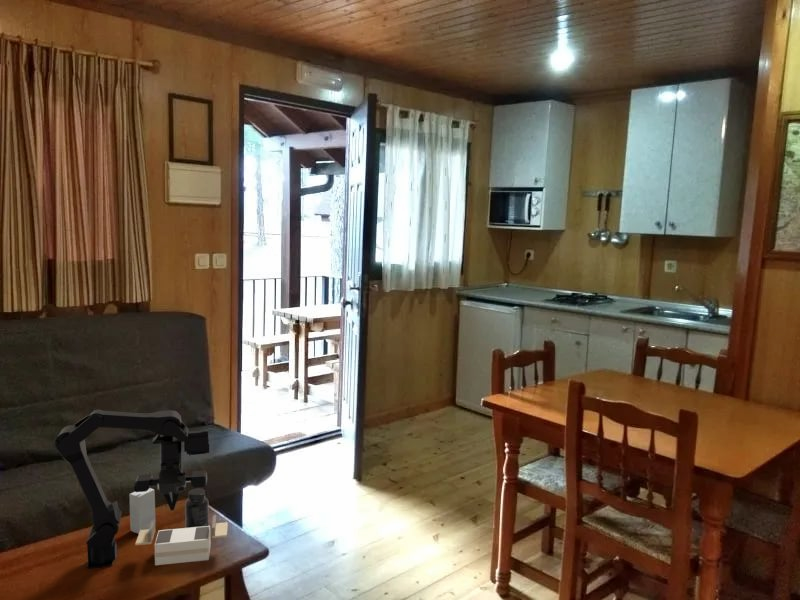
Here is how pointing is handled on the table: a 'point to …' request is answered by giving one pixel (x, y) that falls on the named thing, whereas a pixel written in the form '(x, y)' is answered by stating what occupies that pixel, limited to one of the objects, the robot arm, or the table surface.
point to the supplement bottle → (196, 509)
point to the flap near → (146, 535)
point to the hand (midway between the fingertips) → (172, 509)
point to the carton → (182, 545)
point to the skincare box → (142, 510)
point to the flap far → (219, 528)
